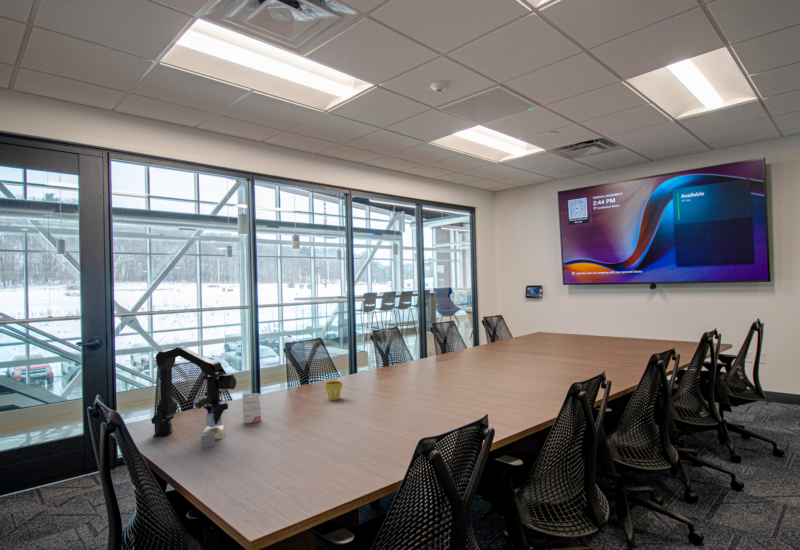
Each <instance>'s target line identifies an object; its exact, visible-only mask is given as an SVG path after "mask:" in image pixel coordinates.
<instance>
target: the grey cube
mask: <svg viewBox="0 0 800 550" xmlns="http://www.w3.org/2000/svg"><path fill="white" fill-rule="evenodd" d="M200 441H201V442H200V443H201V446H200V447H201V448H210V447H214V446H215V443H216V442H215V441H216V439H215V438H214V431H213V432H205V433H203V432H201V436H200Z"/></svg>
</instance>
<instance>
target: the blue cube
mask: <svg viewBox="0 0 800 550" xmlns="http://www.w3.org/2000/svg"><path fill="white" fill-rule="evenodd" d="M205 423H206V424H205V425H206V427H214V426H221V425H222V416H221V417H220V419H219V421H218V423H217V424H215V422H214V416H213V413H209V414H208V413H206V414H205Z"/></svg>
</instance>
